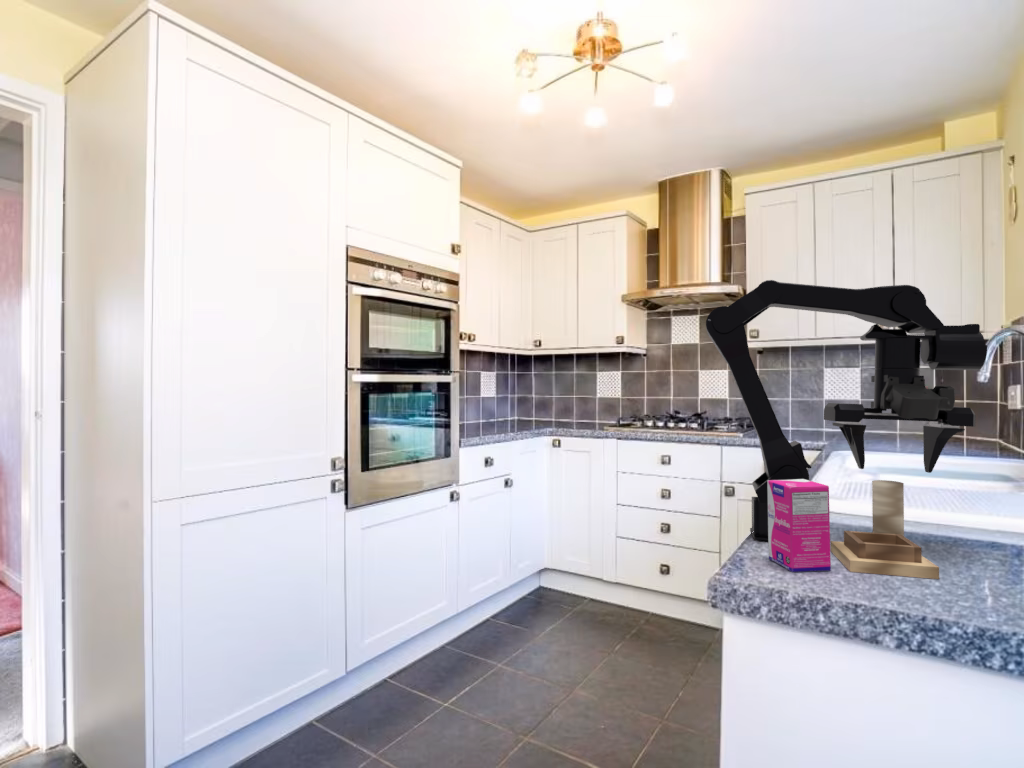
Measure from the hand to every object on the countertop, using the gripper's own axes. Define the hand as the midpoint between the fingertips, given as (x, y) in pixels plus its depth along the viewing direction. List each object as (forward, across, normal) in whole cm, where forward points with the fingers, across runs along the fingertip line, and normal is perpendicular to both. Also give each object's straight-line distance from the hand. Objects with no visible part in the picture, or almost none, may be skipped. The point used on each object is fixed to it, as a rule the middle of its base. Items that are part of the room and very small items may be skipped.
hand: (894, 470), depth 85 cm
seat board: (+12, -6, -10) cm, 16 cm away
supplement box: (+12, -17, -13) cm, 24 cm away
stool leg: (+12, -1, 0) cm, 12 cm away
